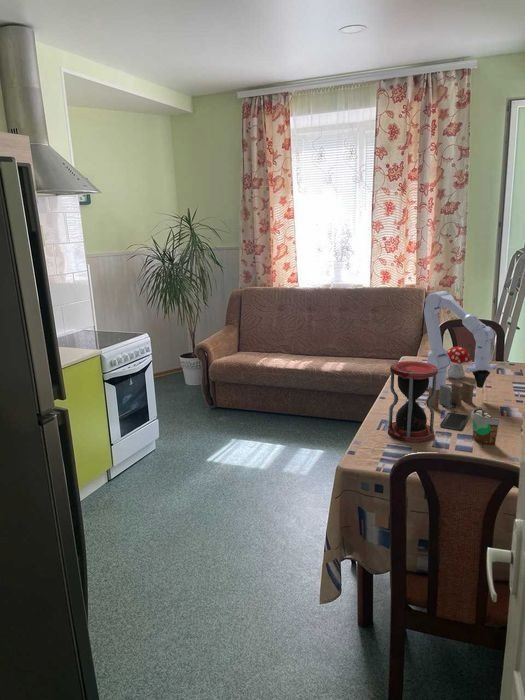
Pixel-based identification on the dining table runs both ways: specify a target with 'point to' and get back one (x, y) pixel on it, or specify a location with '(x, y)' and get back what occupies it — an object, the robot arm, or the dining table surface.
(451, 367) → the decorative mushroom
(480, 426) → the food container
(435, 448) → the dining table surface
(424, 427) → the hourglass
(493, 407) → the dining table surface
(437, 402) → the domino
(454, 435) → the dining table surface
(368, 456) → the dining table surface
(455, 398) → the domino
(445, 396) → the domino
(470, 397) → the domino
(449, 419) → the phone
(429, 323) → the robot arm
